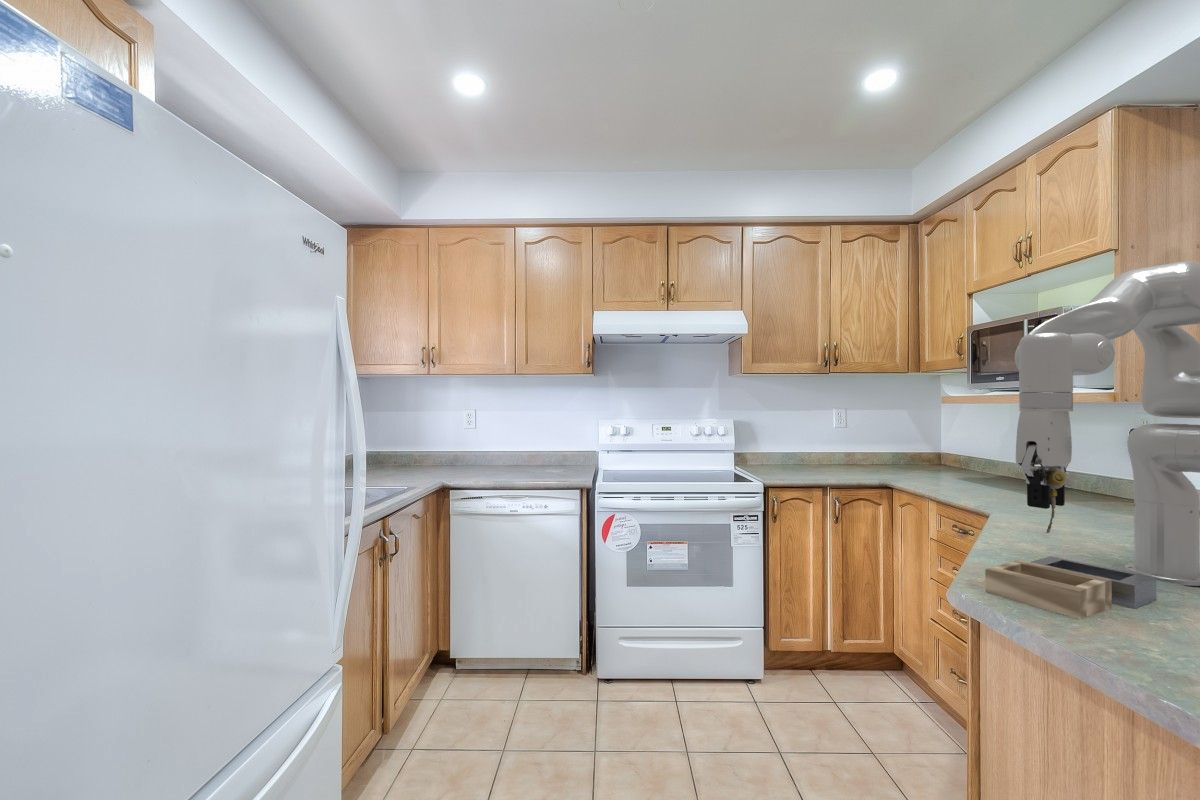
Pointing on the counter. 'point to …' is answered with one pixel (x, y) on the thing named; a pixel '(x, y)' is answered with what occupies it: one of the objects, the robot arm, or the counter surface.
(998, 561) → the counter surface
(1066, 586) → the socket
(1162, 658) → the counter surface
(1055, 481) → the regulator
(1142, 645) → the counter surface
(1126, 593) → the gray rectangular tray
